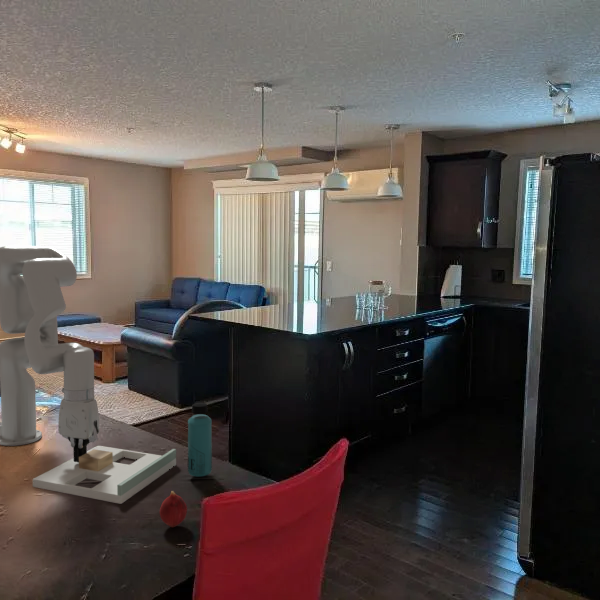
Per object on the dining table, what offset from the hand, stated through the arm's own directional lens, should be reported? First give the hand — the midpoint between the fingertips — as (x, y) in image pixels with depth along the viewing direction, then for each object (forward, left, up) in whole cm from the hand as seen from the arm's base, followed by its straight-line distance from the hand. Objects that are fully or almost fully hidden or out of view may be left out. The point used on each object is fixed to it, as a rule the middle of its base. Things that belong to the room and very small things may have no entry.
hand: (80, 460), depth 148 cm
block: (+5, 0, -1) cm, 5 cm away
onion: (+39, -18, -3) cm, 43 cm away
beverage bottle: (+32, +7, -3) cm, 33 cm away
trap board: (+9, 0, -3) cm, 9 cm away
